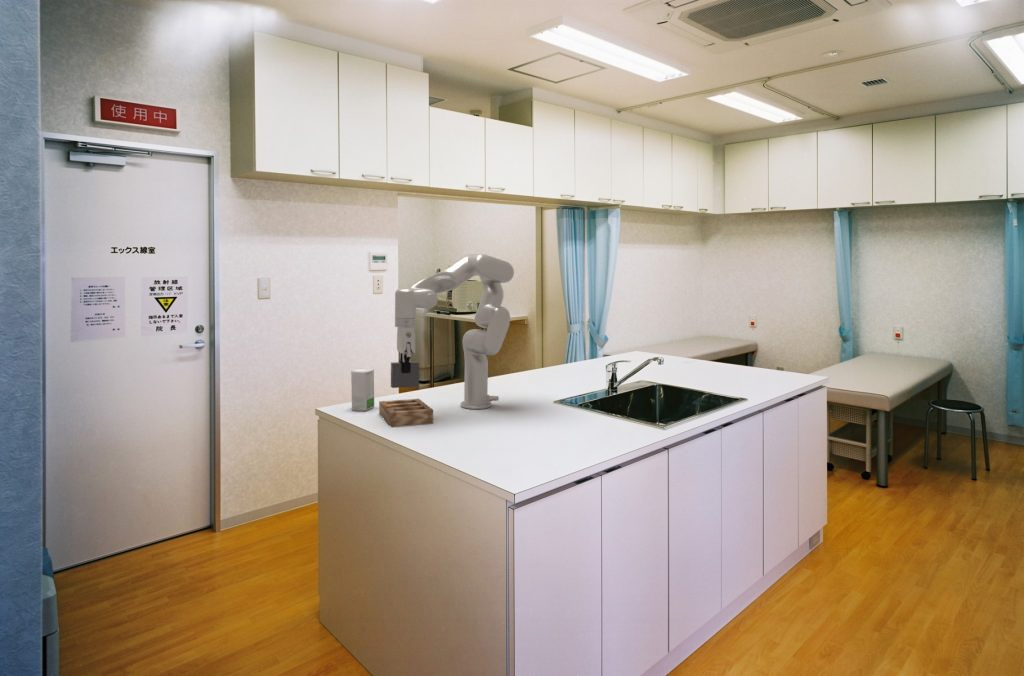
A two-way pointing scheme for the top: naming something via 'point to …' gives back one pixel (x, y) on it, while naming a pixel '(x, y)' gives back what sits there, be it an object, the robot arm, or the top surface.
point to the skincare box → (362, 389)
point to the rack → (405, 412)
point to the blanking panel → (404, 375)
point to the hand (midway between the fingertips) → (405, 371)
